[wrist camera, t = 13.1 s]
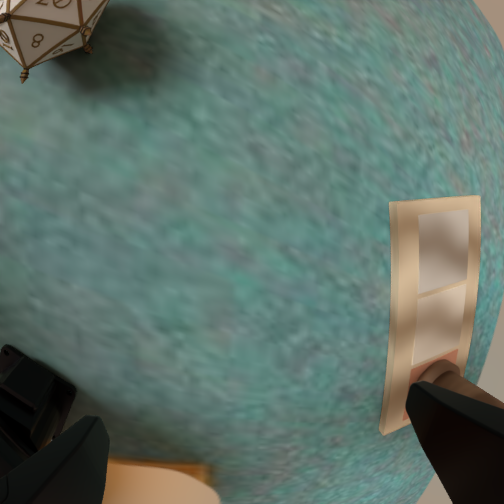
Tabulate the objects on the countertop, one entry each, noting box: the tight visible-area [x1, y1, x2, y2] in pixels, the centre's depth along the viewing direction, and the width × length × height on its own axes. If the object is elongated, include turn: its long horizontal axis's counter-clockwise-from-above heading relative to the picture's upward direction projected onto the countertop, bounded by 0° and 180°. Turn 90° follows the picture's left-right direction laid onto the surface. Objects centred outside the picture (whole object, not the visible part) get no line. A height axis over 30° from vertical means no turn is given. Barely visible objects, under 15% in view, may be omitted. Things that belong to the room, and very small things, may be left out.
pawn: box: [416, 359, 504, 409], centre depth 18 cm, size 6×6×13 cm
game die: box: [0, 0, 110, 84], centre depth 11 cm, size 9×8×10 cm
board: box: [379, 195, 481, 435], centre depth 24 cm, size 21×10×1 cm, turn 6°
